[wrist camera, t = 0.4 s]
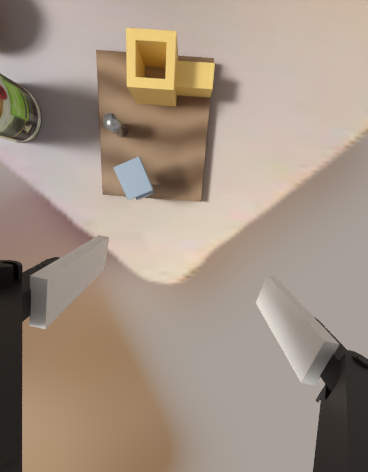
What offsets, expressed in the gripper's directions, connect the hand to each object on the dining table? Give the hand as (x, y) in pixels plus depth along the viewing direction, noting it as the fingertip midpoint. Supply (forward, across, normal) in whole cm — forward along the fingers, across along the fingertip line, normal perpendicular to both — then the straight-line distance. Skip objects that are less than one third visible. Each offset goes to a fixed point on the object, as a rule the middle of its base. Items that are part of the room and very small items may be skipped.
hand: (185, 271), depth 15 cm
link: (+25, -8, +22) cm, 34 cm away
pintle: (+25, -16, +13) cm, 32 cm away
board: (+26, -10, +14) cm, 31 cm away
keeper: (+25, -10, +5) cm, 27 cm away
